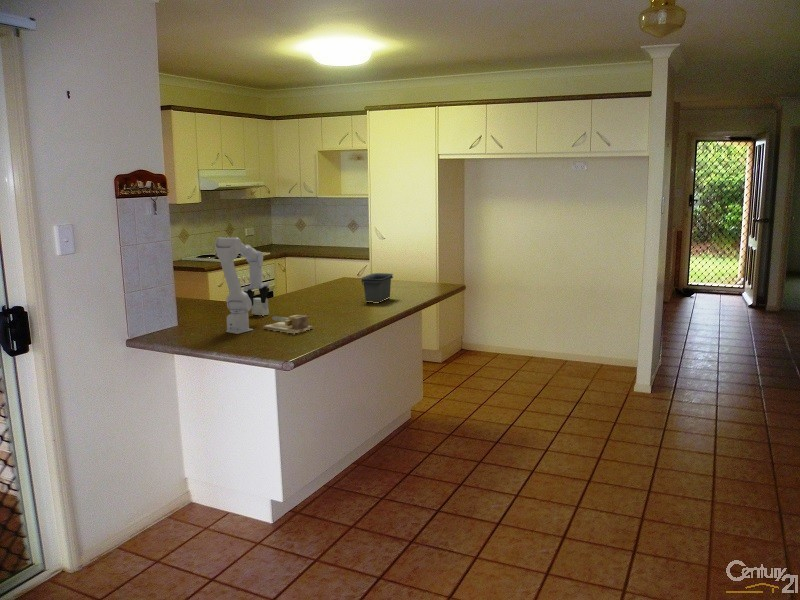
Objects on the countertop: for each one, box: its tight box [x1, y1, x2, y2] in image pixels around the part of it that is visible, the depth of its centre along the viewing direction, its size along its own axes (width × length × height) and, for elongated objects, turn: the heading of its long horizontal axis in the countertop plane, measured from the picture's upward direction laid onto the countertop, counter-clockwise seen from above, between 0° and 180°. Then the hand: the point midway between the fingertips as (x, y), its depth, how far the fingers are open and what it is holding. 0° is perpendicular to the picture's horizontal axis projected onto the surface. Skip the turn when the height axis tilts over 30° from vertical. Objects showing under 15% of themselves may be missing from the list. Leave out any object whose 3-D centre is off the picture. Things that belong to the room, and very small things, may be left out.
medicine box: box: [250, 297, 270, 317], centre depth 341 cm, size 8×4×9 cm, turn 59°
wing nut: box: [285, 314, 302, 328], centre depth 305 cm, size 11×3×5 cm, turn 144°
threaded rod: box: [271, 315, 289, 322], centre depth 308 cm, size 2×16×2 cm, turn 54°
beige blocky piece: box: [262, 315, 314, 335], centre depth 308 cm, size 12×20×7 cm, turn 54°
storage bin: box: [360, 272, 394, 302], centre depth 377 cm, size 21×16×14 cm
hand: (257, 304), depth 321 cm, fingers open, 7 cm apart
